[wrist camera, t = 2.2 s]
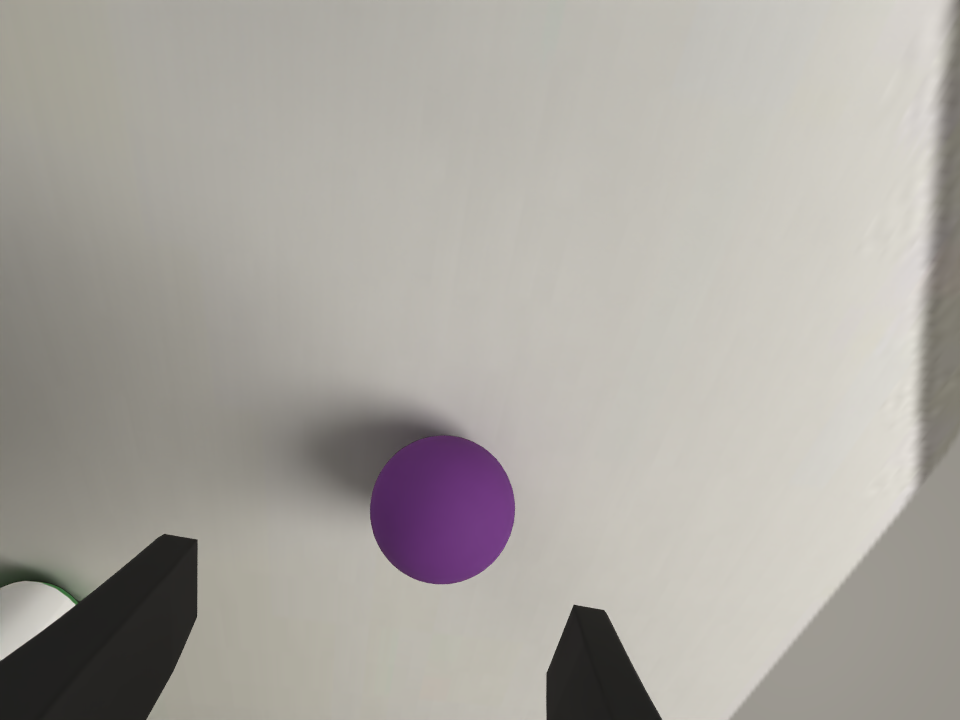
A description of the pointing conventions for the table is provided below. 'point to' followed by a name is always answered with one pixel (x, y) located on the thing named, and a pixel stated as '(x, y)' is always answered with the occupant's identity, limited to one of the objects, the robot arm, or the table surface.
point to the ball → (442, 509)
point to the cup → (29, 612)
